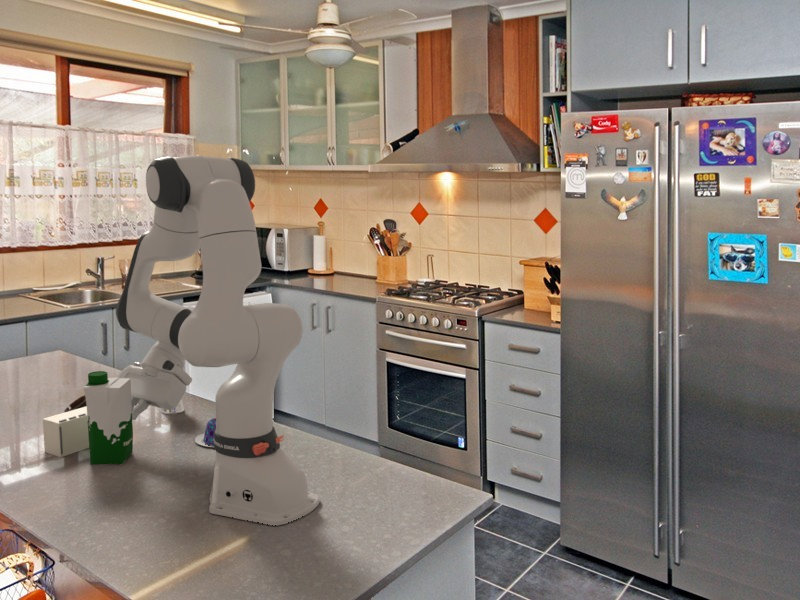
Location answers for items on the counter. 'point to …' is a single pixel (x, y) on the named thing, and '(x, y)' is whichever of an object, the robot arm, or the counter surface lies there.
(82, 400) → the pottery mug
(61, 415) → the block
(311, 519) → the counter surface
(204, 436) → the pudding
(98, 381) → the soya milk
